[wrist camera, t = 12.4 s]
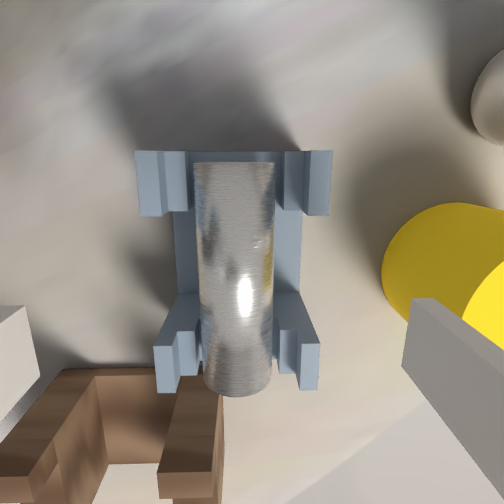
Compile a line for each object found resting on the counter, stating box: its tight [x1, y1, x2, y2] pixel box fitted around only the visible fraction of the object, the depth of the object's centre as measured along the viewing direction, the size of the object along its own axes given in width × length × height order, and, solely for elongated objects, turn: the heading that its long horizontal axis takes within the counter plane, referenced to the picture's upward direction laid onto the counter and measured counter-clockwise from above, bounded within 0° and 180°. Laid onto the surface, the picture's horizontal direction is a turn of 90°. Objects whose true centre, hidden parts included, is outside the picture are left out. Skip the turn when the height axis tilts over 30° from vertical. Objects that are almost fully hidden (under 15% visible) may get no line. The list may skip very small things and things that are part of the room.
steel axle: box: [193, 162, 276, 397], centre depth 18 cm, size 12×4×4 cm, turn 0°
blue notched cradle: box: [134, 151, 333, 393], centre depth 21 cm, size 9×13×8 cm
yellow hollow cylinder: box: [381, 202, 504, 350], centre depth 21 cm, size 10×10×9 cm
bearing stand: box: [0, 367, 224, 504], centre depth 24 cm, size 9×13×10 cm
